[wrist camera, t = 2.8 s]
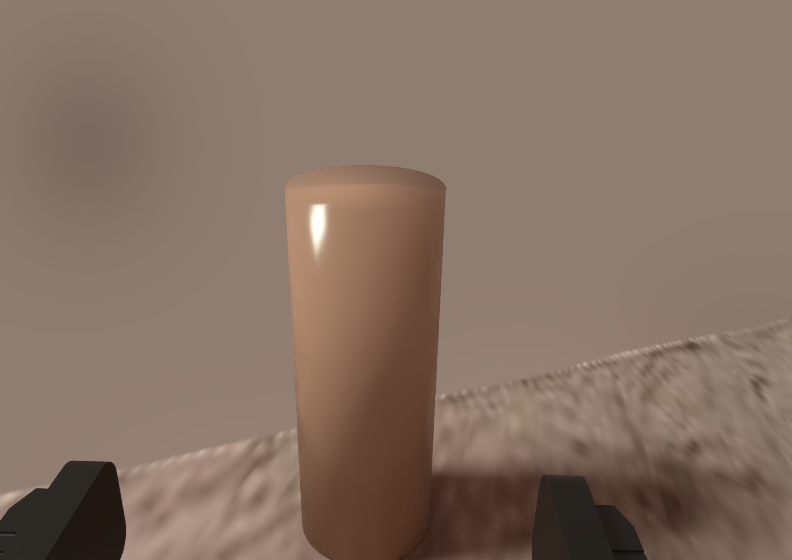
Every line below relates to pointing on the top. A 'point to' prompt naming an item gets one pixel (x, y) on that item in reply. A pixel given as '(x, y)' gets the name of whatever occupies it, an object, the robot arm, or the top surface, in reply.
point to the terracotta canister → (365, 353)
